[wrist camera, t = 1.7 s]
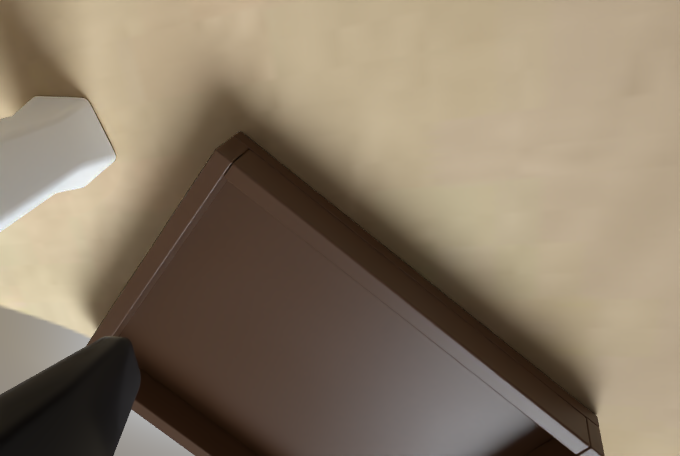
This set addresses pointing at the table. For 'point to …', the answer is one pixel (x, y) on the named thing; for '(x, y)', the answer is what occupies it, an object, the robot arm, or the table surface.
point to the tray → (318, 337)
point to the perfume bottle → (48, 153)
